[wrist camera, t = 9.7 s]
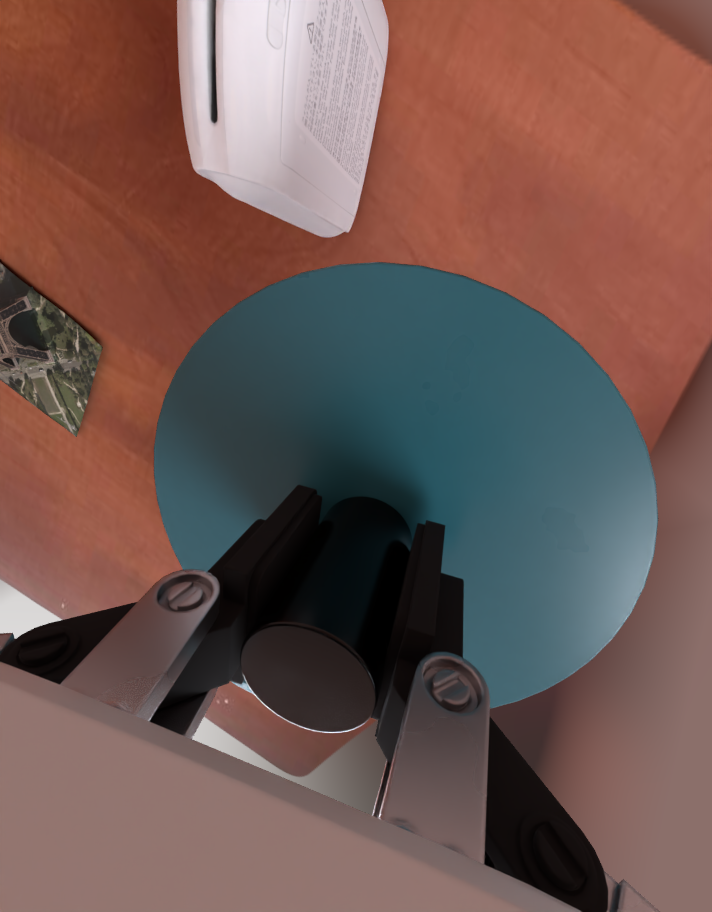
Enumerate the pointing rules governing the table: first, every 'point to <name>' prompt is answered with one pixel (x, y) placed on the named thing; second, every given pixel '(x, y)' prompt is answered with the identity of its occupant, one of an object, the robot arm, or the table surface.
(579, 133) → the table surface
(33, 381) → the eiffel tower figurine
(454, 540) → the lid
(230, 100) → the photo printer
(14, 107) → the table surface
